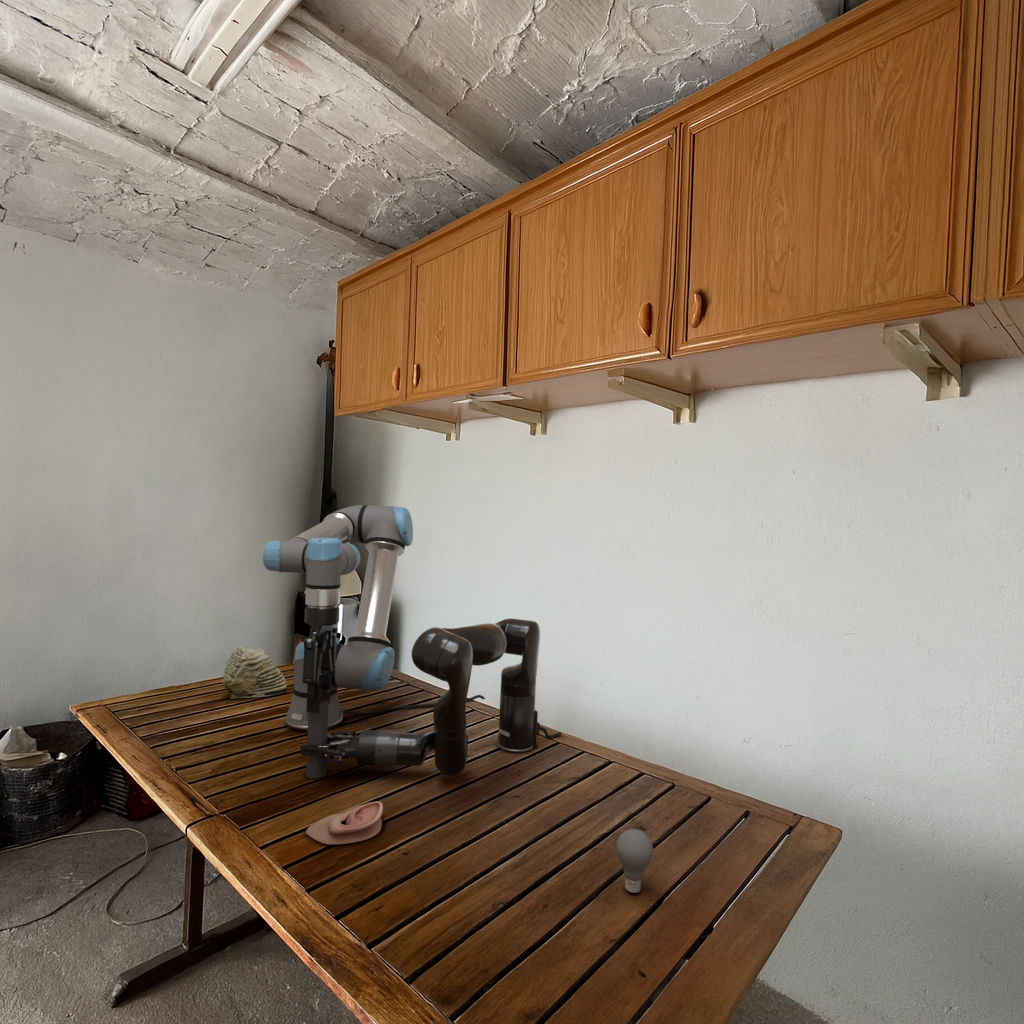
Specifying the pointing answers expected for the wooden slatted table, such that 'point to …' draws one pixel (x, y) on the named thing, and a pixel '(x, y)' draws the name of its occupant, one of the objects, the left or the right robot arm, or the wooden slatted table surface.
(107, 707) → the wooden slatted table surface
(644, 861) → the light bulb
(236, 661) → the fossil
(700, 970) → the wooden slatted table surface
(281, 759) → the wooden slatted table surface
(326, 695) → the lid
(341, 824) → the anatomical model
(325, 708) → the bottle
